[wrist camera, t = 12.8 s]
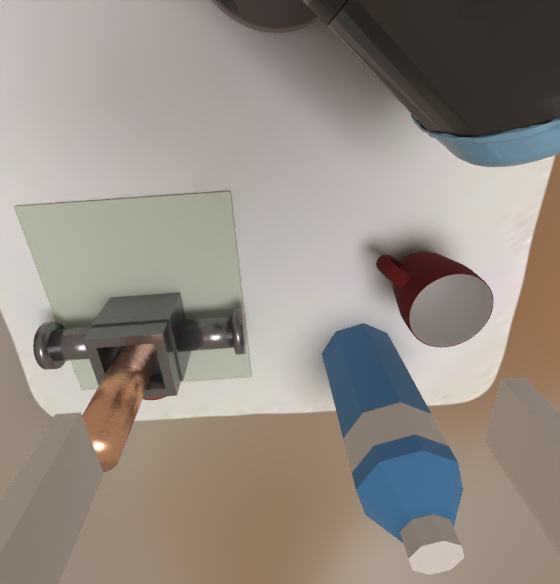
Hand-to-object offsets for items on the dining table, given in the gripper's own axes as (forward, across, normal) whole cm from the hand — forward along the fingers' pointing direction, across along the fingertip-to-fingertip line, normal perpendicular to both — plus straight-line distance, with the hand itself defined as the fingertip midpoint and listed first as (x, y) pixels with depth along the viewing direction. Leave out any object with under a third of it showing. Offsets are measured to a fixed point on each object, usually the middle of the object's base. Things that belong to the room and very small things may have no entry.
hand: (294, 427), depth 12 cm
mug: (+32, +15, -9) cm, 36 cm away
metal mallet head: (+31, -15, -15) cm, 38 cm away
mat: (+32, -15, -11) cm, 37 cm away
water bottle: (+32, +10, -21) cm, 39 cm away
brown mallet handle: (+25, -15, -14) cm, 33 cm away
